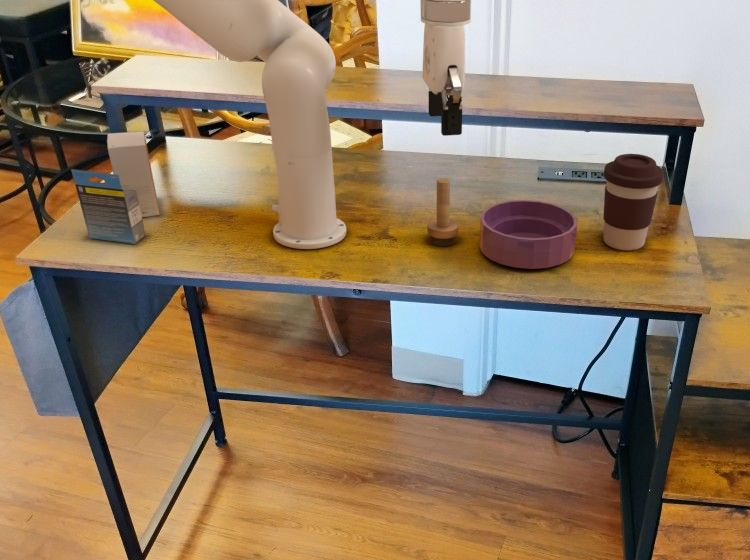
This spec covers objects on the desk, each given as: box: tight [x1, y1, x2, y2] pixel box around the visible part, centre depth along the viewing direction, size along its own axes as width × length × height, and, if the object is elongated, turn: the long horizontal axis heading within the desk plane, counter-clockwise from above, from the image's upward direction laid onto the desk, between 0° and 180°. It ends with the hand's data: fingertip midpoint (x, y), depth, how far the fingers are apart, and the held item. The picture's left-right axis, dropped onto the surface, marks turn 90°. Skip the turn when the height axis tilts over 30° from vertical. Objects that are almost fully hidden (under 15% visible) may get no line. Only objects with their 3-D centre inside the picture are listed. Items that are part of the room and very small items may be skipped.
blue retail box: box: [70, 168, 146, 245], centre depth 139 cm, size 9×4×12 cm, turn 77°
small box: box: [106, 131, 160, 218], centre depth 149 cm, size 8×6×13 cm
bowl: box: [478, 199, 578, 270], centre depth 142 cm, size 16×16×6 cm
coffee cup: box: [602, 153, 665, 252], centre depth 143 cm, size 10×10×15 cm
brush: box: [426, 177, 460, 247], centre depth 143 cm, size 5×5×11 cm
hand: (444, 124), depth 134 cm, fingers open, 9 cm apart
